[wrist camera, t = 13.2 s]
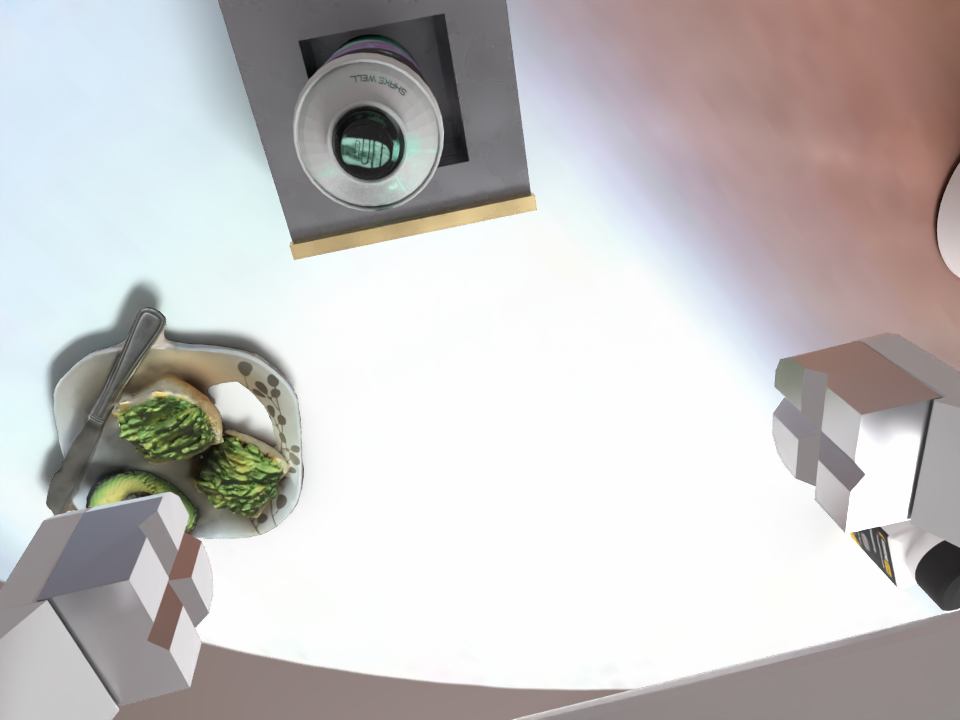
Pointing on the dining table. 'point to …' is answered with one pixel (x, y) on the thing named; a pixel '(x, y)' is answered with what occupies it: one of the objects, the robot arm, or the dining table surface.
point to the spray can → (368, 126)
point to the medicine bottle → (915, 560)
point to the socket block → (451, 78)
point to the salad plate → (175, 433)
